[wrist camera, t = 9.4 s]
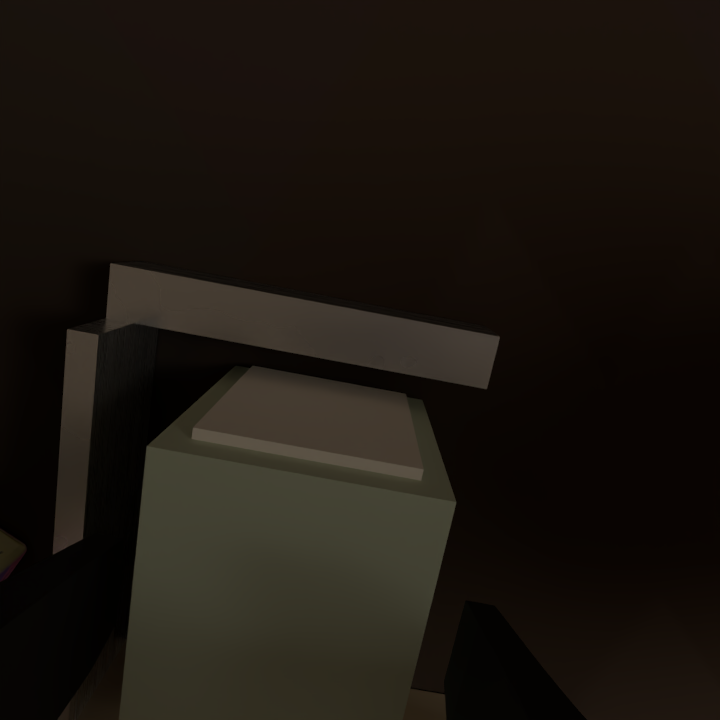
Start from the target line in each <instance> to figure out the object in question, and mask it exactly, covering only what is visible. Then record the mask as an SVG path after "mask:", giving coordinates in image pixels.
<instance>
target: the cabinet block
mask: <svg viewBox="0 0 720 720" xmlns="http://www.w3.org/2000/svg"><path fill="white" fill-rule="evenodd" d="M455 506H456V499H455V496H454V493H453V490H452V487H451V484H450V481H449V478H448V475H447V472H446V469H445V466H444V463H443V460H442V457H441V454H440V451H439V448H438V445H437V442H436V439H435V436H434V433H433V430H432V427H431V424H430V421H429V418H428V415H427V412H426V409H425V406H424V403H423V400H420V399H414V398H409V397H407V396H406V394H404V393H399V392H393V391H388V390H382V389H377V388H372V387H366V386H361V385H355V384H350V383H345V382H339V381H334V380H328V379H323V378H318V377H312V376H307V375H301V374H296V373H290V372H285V371H280V370H274V369H269V368H263V367H258V366H252V367H251V368H246V367H241V366H235V367H234V368H232V369H231V370H230V371H229V372H228V373H227V374H226V375H225V376H224V377H223V378H221V379H220V380H219V381H218V382H217V383H216V384H215V385H214V386H213V387H212V388H210V389H209V390H208V391H207V392H206V393H205V394H204V395H203V396H202V397H201V398H199V399H198V400H197V401H196V402H195V403H194V404H193V405H192V406H191V407H189V408H188V409H187V410H186V411H185V412H184V413H183V414H182V415H181V416H180V417H178V418H177V419H176V420H175V421H174V422H173V423H172V424H171V425H170V426H169V427H167V428H166V429H165V430H164V431H163V432H162V433H161V434H160V435H159V436H158V437H156V438H155V439H154V440H153V441H152V442H151V443H150V444H149V445H148V446H147V449H146V459H145V469H144V478H143V488H142V498H141V508H140V517H139V527H138V537H137V547H136V556H135V566H134V576H133V586H132V595H131V605H130V615H129V625H128V634H127V644H126V654H125V664H124V673H123V683H122V693H121V703H120V712H119V720H403V716H404V712H405V708H406V704H407V700H408V696H409V692H410V688H411V684H412V680H413V676H414V672H415V668H416V664H417V659H418V655H419V651H420V647H421V643H422V639H423V635H424V631H425V627H426V623H427V619H428V615H429V611H430V607H431V603H432V599H433V595H434V591H435V587H436V583H437V579H438V575H439V571H440V567H441V562H442V558H443V554H444V550H445V546H446V542H447V538H448V534H449V530H450V526H451V522H452V518H453V514H454V510H455Z"/></svg>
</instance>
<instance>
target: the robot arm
mask: <svg viewBox="0 0 720 720" xmlns="http://www.w3.org/2000/svg"><path fill="white" fill-rule="evenodd" d="M124 541H125V538H121V537H115V536H110V535H104V534H99V533H95V534H92V535H90V536H88V537H86V538H84V539H82V540H80V541H78V542H76V543H74V544H72V545H70V546H68V547H67V548H65V549H63V550H61V551H59V552H57V553H55V554H53V555H51V556H49V557H48V558H46V559H44V560H42V561H40V562H38V563H36V564H34V565H32V566H30V567H28V568H26V569H24V570H22V571H21V572H19V573H17V574H15V575H13V576H11V577H9V578H7V579H5V580H3V581H1V582H0V720H58V718H59V717H60V715H61V714H62V712H63V711H64V709H65V708H66V707H67V705H68V704H69V702H70V701H71V699H72V698H73V696H74V695H75V693H76V692H77V690H78V689H79V688H80V686H81V685H82V683H83V682H84V680H85V679H86V677H87V676H88V674H89V673H90V671H91V669H92V668H93V666H94V664H95V662H96V660H97V659H98V657H99V655H100V653H101V651H102V650H103V648H104V646H105V644H106V642H107V640H108V638H109V636H110V634H111V632H112V630H113V628H114V627H115V625H116V623H117V613H118V603H119V592H120V582H121V572H122V561H123V551H124ZM444 689H445V706H446V720H587V719H586V718H585V717H584V716H583V715H582V714H581V713H580V712H579V711H578V709H577V708H576V707H575V706H574V705H573V704H572V702H571V701H570V700H569V699H568V698H567V697H566V695H565V694H564V693H563V692H562V691H561V689H560V688H559V687H558V686H557V685H556V683H555V682H554V681H553V680H552V678H551V677H550V676H549V675H548V674H547V672H546V671H545V670H544V669H543V667H542V666H541V665H540V664H539V662H538V661H537V660H536V658H535V657H534V656H533V655H532V653H531V652H530V651H529V649H528V648H527V647H526V646H525V644H524V643H523V642H522V640H521V639H520V638H519V637H518V635H517V634H516V633H515V631H514V630H513V629H512V627H511V626H510V625H509V623H508V622H507V621H506V620H505V618H504V617H503V616H502V615H501V613H500V612H499V611H498V610H497V608H496V607H495V606H493V605H487V604H482V603H476V602H471V601H465V605H464V609H463V613H462V616H461V620H460V624H459V628H458V631H457V635H456V639H455V643H454V646H453V650H452V654H451V658H450V661H449V665H448V669H447V673H446V676H445V680H444Z"/></svg>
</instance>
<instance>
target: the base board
mask: <svg viewBox="0 0 720 720" xmlns="http://www.w3.org/2000/svg"><path fill="white" fill-rule="evenodd" d="M126 644H127V639H126V641H125V643H124V644H123V646H122V647H121V649H120V651H119V652H118V654H117V656H116V657H115V659H114V660H113V662H112V664H111V665H110V667H109V669H108V670H107V672H106V673H105V675H104V677H103V678H102V680H101V682H100V683H99V685H98V686H97V688H96V690H95V691H94V693H93V694H92V696H91V698H90V699H89V701H88V703H87V704H86V706H85V707H84V709H83V711H82V712H81V714H80V716H79V717H78V719H77V720H119V712H120V703H121V693H122V683H123V673H124V664H125V654H126ZM403 720H446V706H445V695H444V694H439V693H433V692H427V691H422V690H416V689H410V692H409V696H408V700H407V704H406V708H405V712H404V716H403Z"/></svg>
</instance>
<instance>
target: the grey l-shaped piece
mask: <svg viewBox="0 0 720 720" xmlns="http://www.w3.org/2000/svg"><path fill="white" fill-rule="evenodd" d="M159 328H162V329H167V330H173V331H178V332H183V333H189V334H194V335H199V336H205V337H210V338H215V339H221V340H226V341H231V342H237V343H242V344H247V345H253V346H258V347H264V348H269V349H274V350H280V351H285V352H290V353H296V354H301V355H306V356H312V357H317V358H322V359H328V360H333V361H338V362H344V363H349V364H355V365H360V366H365V367H371V368H376V369H381V370H387V371H392V372H397V373H403V374H408V375H413V376H419V377H424V378H429V379H435V380H440V381H446V382H451V383H456V384H462V385H467V386H472V387H478V388H483V389H487V387H488V383H489V379H490V375H491V371H492V367H493V363H494V359H495V355H496V351H497V347H498V343H499V339H500V336H498V335H497V334H495V333H494V332H493V331H491V330H490V329H489V328H487V327H486V326H482V325H477V324H472V323H466V322H461V321H456V320H450V319H445V318H440V317H435V316H429V315H424V314H419V313H413V312H408V311H403V310H398V309H392V308H387V307H382V306H376V305H371V304H366V303H361V302H355V301H350V300H345V299H340V298H334V297H329V296H324V295H318V294H313V293H308V292H303V291H297V290H292V289H287V288H281V287H276V286H271V285H266V284H260V283H255V282H250V281H244V280H239V279H234V278H229V277H223V276H218V275H213V274H207V273H202V272H197V271H192V270H186V269H181V268H176V267H171V266H165V265H160V264H155V263H149V262H144V261H132V262H119V263H110V275H109V288H108V300H107V313H106V318H105V319H101V320H98V321H94V322H90V323H87V324H83V325H80V326H76V327H73V328H69V329H67V341H66V356H65V372H64V387H63V403H62V418H61V434H60V449H59V465H58V480H57V496H56V512H55V527H54V543H53V554H55V553H57V552H59V551H61V550H63V549H65V548H67V547H68V546H70V545H72V544H74V543H76V542H78V541H80V540H82V539H84V538H86V537H88V536H90V535H92V534H95V533H99V534H104V535H110V536H115V537H121V538H125V541H124V551H123V561H122V572H121V582H120V592H119V603H118V613H117V623H116V625H115V627H114V628H113V630H112V632H111V634H110V636H109V638H108V640H107V642H106V644H105V646H104V648H103V650H102V651H101V653H100V655H99V657H98V659H97V660H96V662H95V664H94V666H93V668H92V669H91V671H90V673H89V674H88V676H87V677H86V679H85V680H84V682H83V683H82V685H81V686H80V688H79V689H78V690H77V692H76V693H75V695H74V696H73V698H72V699H71V701H70V702H69V704H68V705H67V707H66V708H65V709H64V711H63V712H62V714H61V715H60V717H59V718H58V720H77V719H78V717H79V716H80V714H81V712H82V711H83V709H84V707H85V706H86V704H87V703H88V701H89V699H90V698H91V696H92V694H93V693H94V691H95V690H96V688H97V686H98V685H99V683H100V682H101V680H102V678H103V677H104V675H105V673H106V672H107V670H108V669H109V667H110V665H111V664H112V662H113V660H114V659H115V657H116V656H117V654H118V652H119V651H120V649H121V647H122V646H123V644H124V643H125V641H126V639H127V631H128V621H129V611H130V602H131V592H132V582H133V573H134V563H135V553H136V544H137V534H138V524H139V515H140V505H141V495H142V486H143V476H144V466H145V457H146V447H147V437H148V428H149V418H150V408H151V399H152V389H153V379H154V370H155V360H156V350H157V341H158V331H159Z"/></svg>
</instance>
